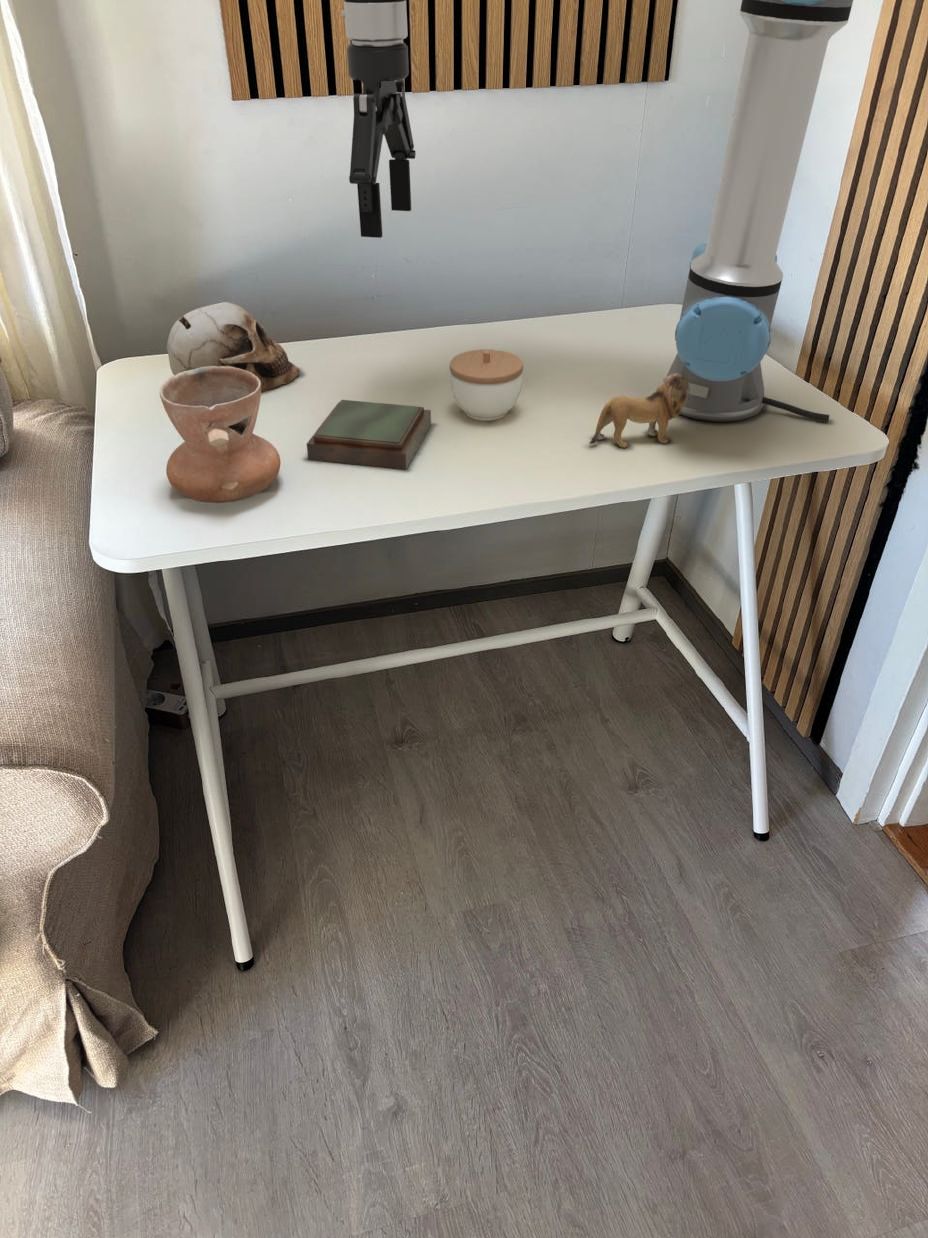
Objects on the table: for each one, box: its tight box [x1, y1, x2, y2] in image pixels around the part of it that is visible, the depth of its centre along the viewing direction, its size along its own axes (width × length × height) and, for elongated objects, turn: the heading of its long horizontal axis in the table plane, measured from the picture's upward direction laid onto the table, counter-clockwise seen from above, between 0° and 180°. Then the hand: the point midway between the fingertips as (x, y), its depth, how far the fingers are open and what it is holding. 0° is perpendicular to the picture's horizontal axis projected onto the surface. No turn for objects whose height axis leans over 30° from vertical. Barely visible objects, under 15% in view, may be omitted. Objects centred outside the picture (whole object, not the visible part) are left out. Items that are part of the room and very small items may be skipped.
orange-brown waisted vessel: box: [159, 366, 282, 504], centre depth 123 cm, size 18×14×14 cm
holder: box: [306, 399, 432, 470], centre depth 136 cm, size 14×14×3 cm
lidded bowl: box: [449, 349, 524, 422], centre depth 142 cm, size 11×11×9 cm
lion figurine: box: [588, 373, 690, 448], centre depth 134 cm, size 15×5×9 cm, turn 110°
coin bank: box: [166, 301, 301, 392], centre depth 150 cm, size 16×17×13 cm
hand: (387, 222), depth 131 cm, fingers open, 13 cm apart
